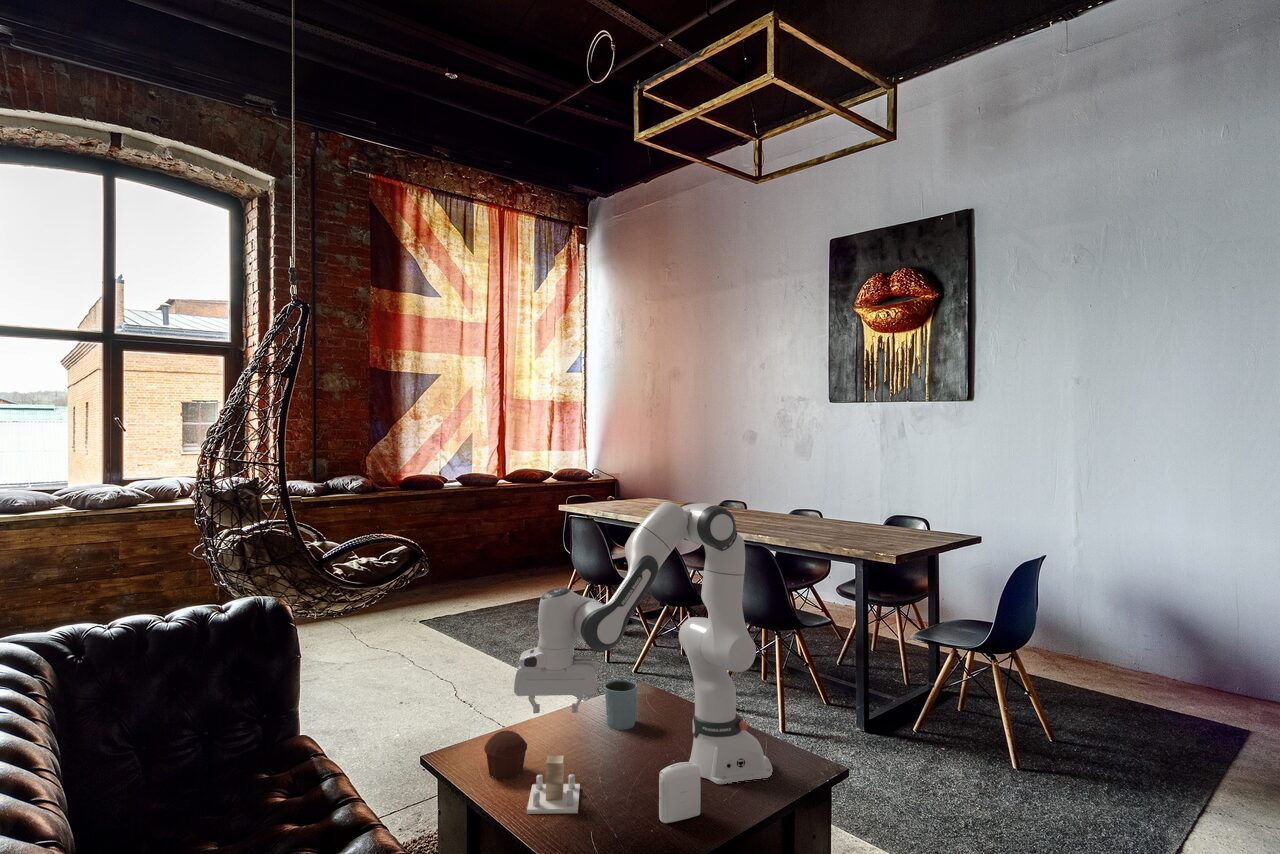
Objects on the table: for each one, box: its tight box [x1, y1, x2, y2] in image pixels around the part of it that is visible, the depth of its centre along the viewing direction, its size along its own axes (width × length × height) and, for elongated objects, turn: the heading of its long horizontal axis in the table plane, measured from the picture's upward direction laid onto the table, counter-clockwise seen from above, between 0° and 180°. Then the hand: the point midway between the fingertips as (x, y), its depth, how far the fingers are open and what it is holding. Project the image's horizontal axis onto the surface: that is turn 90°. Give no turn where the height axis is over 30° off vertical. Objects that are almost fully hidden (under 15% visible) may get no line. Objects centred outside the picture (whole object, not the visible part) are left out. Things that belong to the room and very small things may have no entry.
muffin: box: [483, 730, 528, 781], centre depth 187 cm, size 12×11×10 cm
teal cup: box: [604, 679, 638, 731], centre depth 218 cm, size 10×10×12 cm
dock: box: [526, 773, 581, 815], centre depth 173 cm, size 12×12×4 cm
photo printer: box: [658, 761, 702, 824], centre depth 166 cm, size 10×4×12 cm, turn 114°
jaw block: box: [545, 755, 565, 801], centre depth 173 cm, size 4×4×9 cm
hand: (555, 712), depth 173 cm, fingers open, 8 cm apart
